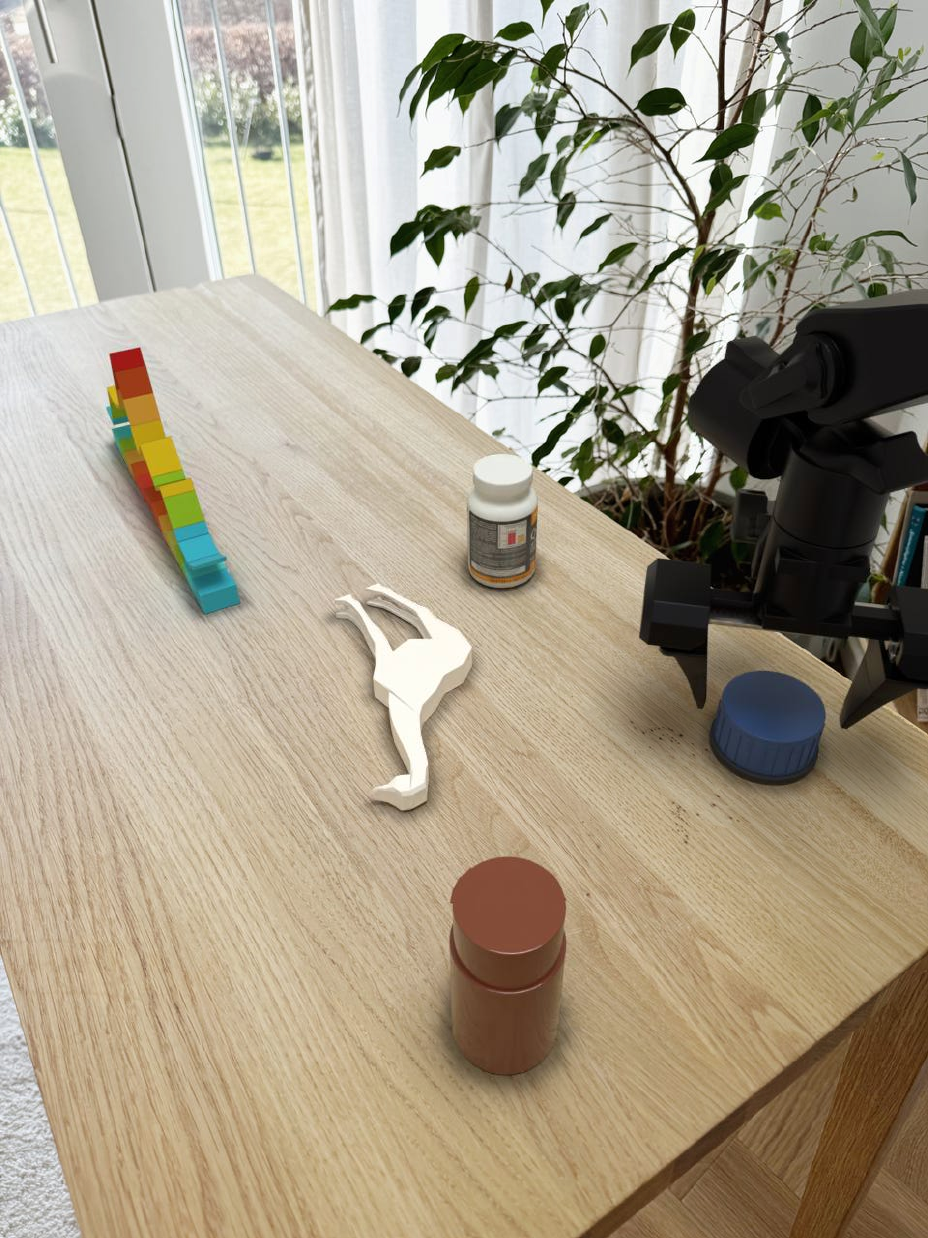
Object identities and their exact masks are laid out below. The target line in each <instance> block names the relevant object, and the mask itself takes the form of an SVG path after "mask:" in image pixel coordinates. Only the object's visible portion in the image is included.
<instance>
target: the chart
mask: <svg viewBox="0 0 928 1238" xmlns="http://www.w3.org/2000/svg"><path fill="white" fill-rule="evenodd" d="M108 355H109V361H110V366H111V370H112V376H113V383H114V385H109V386H107V387H106V391H107V397H108V401H109V406H105V410H106V411H107V415H108V416H109V419H110V420H111V423H112V424H113V426H117V425H121V424H124V425H122V426H118V427H114V428H111V431H112V434H113V438H114V442H115V446H116V448H117V449H118V451H119V454H120V455H121V457H122V459H123V461H124V463H125V465H126V467H127V469H128V471H129V473H130V474H131V476H132V478H133V480H134V483H135V484H136V487H137V488H138V490H139V492H140V494H141V495H142V497H143V500H144V501H145V504H146V505H147V507H148V509H149V511H150V513H151V515H152V517H153V519H154V520H155V522H156V524H157V527H158V528H159V530H160V531H161V534H162V536H163V537H164V540H165V541H166V544H167V545H168V547H169V549H170V552H171V554H173V557H174V558H175V561H176V563H177V564H178V566H179V568H180V570H181V572H182V574H183V576H184V578H185V579H186V582H187V584H188V585H189V587H190V589H191V591H192V594H193V595H194V597H195V598H196V600H197V603H198V604H199V607H200V608H201V610H202V613H203V614H204V615H207V614H209V613H213V612H217V611H219V610H223V609H225V608H229V607H232V606H236V605H239V604H241V601H240V596H239V590H238V589H239V587H238V584H237V583H236V582H235V580H234V578H233V576H232V574H231V572H230V569H229V568H228V566H226V563H225V562H227V561H228V558H227V556H226V555H223V554H222V553H220V552H219V550H218V548H217V546H216V544H215V542H214V540H213V538H212V536H211V534H210V531H209V528H208V526H207V522H206V519H205V516H204V513H203V509H202V507H201V504H200V501H199V497H198V495H197V492H196V488H195V486H194V482H193V478H192V477H189V478H186V474H185V472H184V469H183V466H182V463H181V460H180V457H179V454H178V452H177V448H176V446H175V443H174V440H173V438H172V435H170V436H166V432H165V430H164V425H163V423H162V419H161V415H160V411H159V407H158V404H157V402H156V397H155V394H154V390H153V387H152V384H151V379H150V375H149V372H148V369H147V365H146V361H145V358H144V355H143V351H142V348H141V347H134V348H129V349H125V350H119V351H116V352H111V353H109V354H108ZM126 423H129V424H126ZM125 424H126V425H125Z"/></svg>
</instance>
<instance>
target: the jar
mask: <svg viewBox="0 0 928 1238" xmlns="http://www.w3.org/2000/svg"><path fill="white" fill-rule="evenodd" d="M566 901H567V898H566V896H565V894H564V891H563V888H562V886H561V885H560V883H559V881H558V880H557V879H556V877H555V876H554V875H553V874H552V873H551V872H550V871H549V870H548V869H546V868H545V866H542V865H540V864H539V863H538V862H535V861H532V860H530V859H528V858H523V857H519V856H512V855H511V856H506V855H505V856H504V855H503V856H497V857H492V858H488V859H486V860H482V861H481V862H479V863H477V864H475V865H473V866H472V867H469V868H468V869H467V870H466V871H465V872H464V873H463V874H462V875H461V876H459V878H458V880H457V881H456V883H455V885H454V887H453V888H452V892H451V896H450V899H449V904H451V905H452V923H451V927H450V931H449V937H448V947H449V949H448V950H449V951H448V952H449V978H450V979H449V980H450V1009H451V1010H450V1011H451V1014H450V1015H451V1031H452V1036H453V1039H454V1041H455V1044H456V1046H457V1048H458V1049H459V1051H460V1052H461V1053H462V1055H463V1056H464V1057H465V1058H466V1059H467V1060H468V1061H469V1063H471V1064H473V1065H474V1066H476V1067H477V1068H478V1069H481V1070H483V1071H485V1072H488V1073H491V1074H495V1075H502V1076H503V1075H505V1076H507V1075H509V1076H510V1075H517V1074H522V1073H524V1072H526V1071H529V1070H531V1069H534V1067H536V1066H538V1065H539V1064H540V1063H541V1062H542V1061H543V1060H544V1059H545V1058H547V1056H548V1055H549V1053H551V1050H552V1049H553V1047H554V1045H555V1044H554V1043H555V1041H556V1039H557V1034H558V1027H559V1020H560V1019H559V1017H560V1010H561V1009H560V1008H561V1001H562V990H563V982H564V973H565V965H566V954H567V935H566V931H565V925H566V916H567V915H566V914H567V902H566Z"/></svg>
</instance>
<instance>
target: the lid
mask: <svg viewBox="0 0 928 1238" xmlns="http://www.w3.org/2000/svg"><path fill="white" fill-rule="evenodd" d="M715 717H716V718H715ZM715 717H714V718H715V723H714V725H715V730H714V735H715V739H716V742H717V744H718V746H719V748H720V749H721V751H722V752H723V753H724V755H725V756H726V757H727V758H728V759H730V760H731V761H732V762H733V763H735V764H737V765H738V766H740V767H742V768H744V769H746V770H748V771H751V772H754V773H757V774H762V775H769V776H783V775H789V774H792V773H795V772H798V771H800V770H801V769H803V768H804V767H806V766H807V765H808V764H809V763H810V761H811V760H812V758H814V756H815V753H816V750H817V747H818V745H819V743H820V742H821V741H820V740H821V738H822V734H823V731H824V728H825V725H826V717H827V712H826V707H825V704H824V702H823V700H822V698H821V696H820V695H819V693H817V692H816V691H815V690H814V689H813V688H812V687H811V686H810V685H808V684H807V683H805V682H804V681H802V680H800V679H798V678H796V677H794V676H792V675H789V674H786V673H783V672H780V671H773V670H752V671H747V672H743V673H740V674H738V675H736V676H735V677H733V678H732V679H730V680H729V681H728V682H727V683H726V685H725V686H724V688H723V691H722V693H721V697H720V698H719V701H718V706H717V711H716V715H715Z"/></svg>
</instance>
